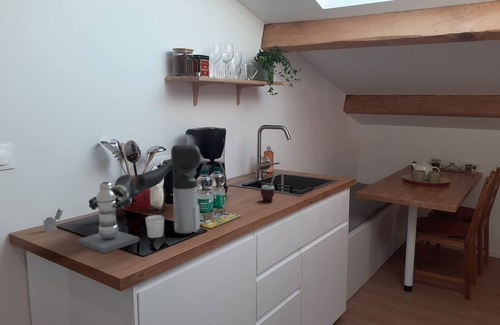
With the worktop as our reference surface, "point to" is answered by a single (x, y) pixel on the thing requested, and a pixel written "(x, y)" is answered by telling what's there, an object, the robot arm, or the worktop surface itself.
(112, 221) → the plastic bottle
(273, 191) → the mate gourd
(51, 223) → the lighter
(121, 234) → the board
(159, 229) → the white cup
